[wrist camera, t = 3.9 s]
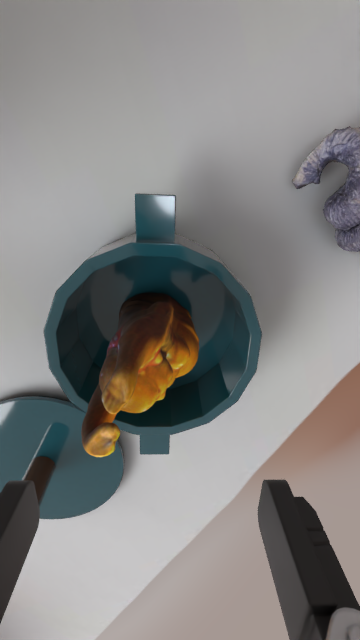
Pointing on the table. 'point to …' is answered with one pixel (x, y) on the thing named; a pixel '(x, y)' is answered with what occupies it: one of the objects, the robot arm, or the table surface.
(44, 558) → the table surface
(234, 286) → the pot
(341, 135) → the seashell
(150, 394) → the figurine
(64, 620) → the table surface
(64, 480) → the lid
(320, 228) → the table surface
